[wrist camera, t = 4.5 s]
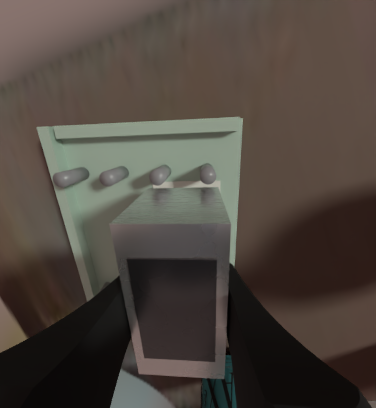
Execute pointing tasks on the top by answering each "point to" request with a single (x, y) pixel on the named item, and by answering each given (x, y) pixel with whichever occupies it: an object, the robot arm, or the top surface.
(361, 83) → the top surface
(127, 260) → the block
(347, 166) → the top surface
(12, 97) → the top surface
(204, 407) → the beverage bottle
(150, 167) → the tray
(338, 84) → the top surface
